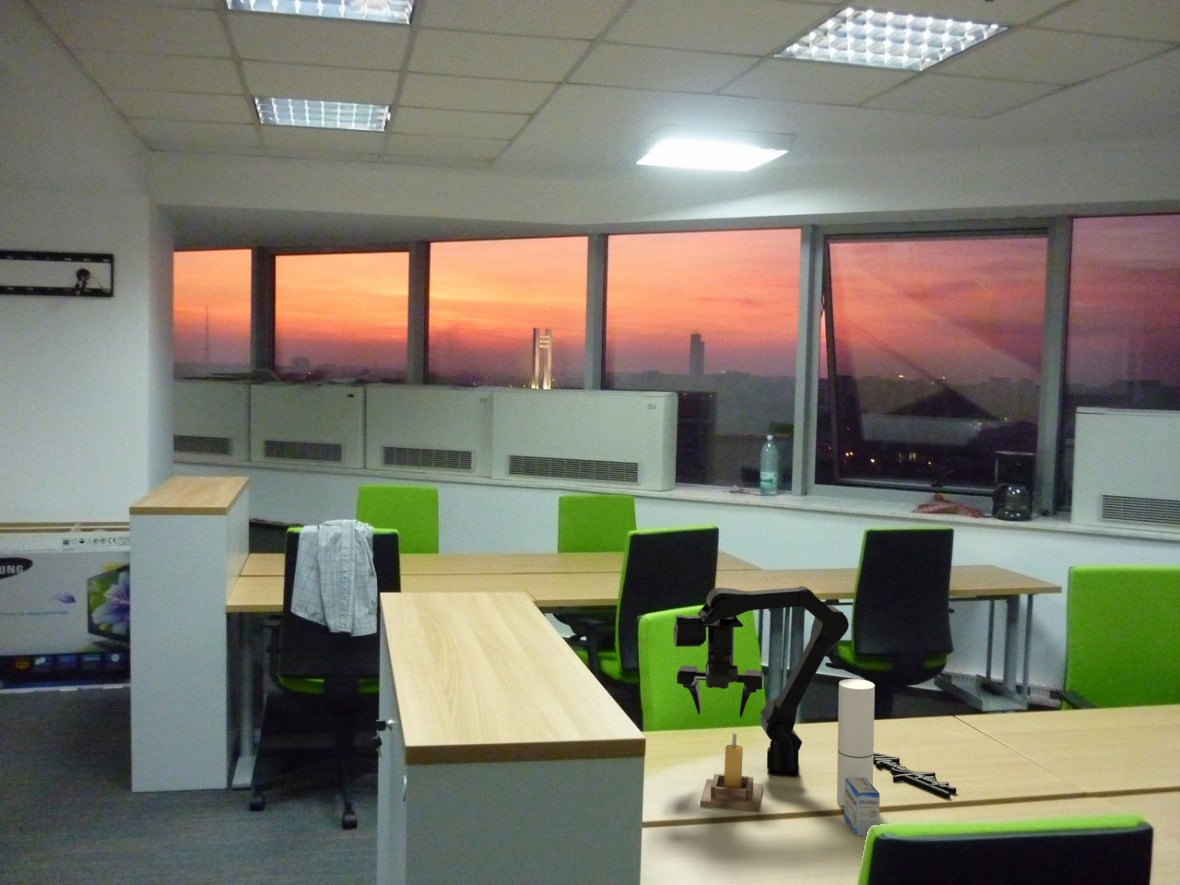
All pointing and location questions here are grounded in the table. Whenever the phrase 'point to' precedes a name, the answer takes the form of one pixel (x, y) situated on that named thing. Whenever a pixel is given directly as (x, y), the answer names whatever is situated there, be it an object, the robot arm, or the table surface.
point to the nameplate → (913, 776)
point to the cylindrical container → (855, 732)
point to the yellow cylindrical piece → (733, 765)
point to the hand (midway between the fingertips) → (720, 715)
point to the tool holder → (732, 794)
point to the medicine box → (861, 805)
